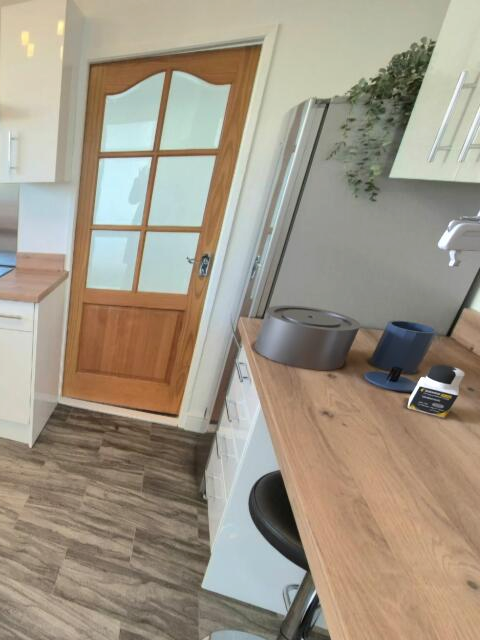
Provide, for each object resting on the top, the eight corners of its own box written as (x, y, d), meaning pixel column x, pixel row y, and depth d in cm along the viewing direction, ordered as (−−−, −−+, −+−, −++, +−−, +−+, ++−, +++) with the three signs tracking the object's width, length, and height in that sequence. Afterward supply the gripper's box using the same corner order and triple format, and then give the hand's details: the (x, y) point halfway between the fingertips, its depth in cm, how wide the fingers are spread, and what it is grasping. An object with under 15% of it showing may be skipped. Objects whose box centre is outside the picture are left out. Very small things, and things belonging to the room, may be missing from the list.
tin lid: (405, 378, 130) (414, 363, 127) (426, 397, 120) (436, 380, 117) (356, 372, 134) (363, 357, 131) (373, 389, 124) (381, 373, 121)
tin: (405, 362, 141) (425, 323, 134) (423, 376, 131) (446, 335, 125) (363, 356, 144) (381, 318, 138) (378, 370, 135) (398, 330, 129)
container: (361, 372, 133) (380, 332, 127) (273, 366, 137) (287, 327, 131) (317, 342, 155) (332, 307, 149) (243, 338, 159) (254, 303, 153)
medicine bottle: (407, 408, 114) (429, 367, 109) (408, 399, 119) (430, 359, 113) (444, 418, 110) (469, 377, 104) (445, 408, 114) (469, 368, 109)
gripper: (461, 217, 119) (436, 267, 126) (556, 219, 114) (525, 271, 121) (446, 214, 125) (423, 262, 131) (536, 217, 120) (507, 267, 126)
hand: (472, 267), depth 126 cm, fingers open, 8 cm apart
